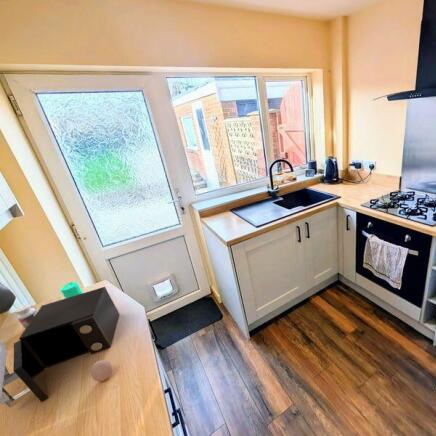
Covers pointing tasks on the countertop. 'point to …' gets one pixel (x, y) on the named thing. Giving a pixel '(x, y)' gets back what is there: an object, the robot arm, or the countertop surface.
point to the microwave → (72, 327)
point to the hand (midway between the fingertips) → (6, 389)
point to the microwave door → (26, 375)
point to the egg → (101, 370)
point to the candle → (71, 289)
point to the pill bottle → (25, 315)
